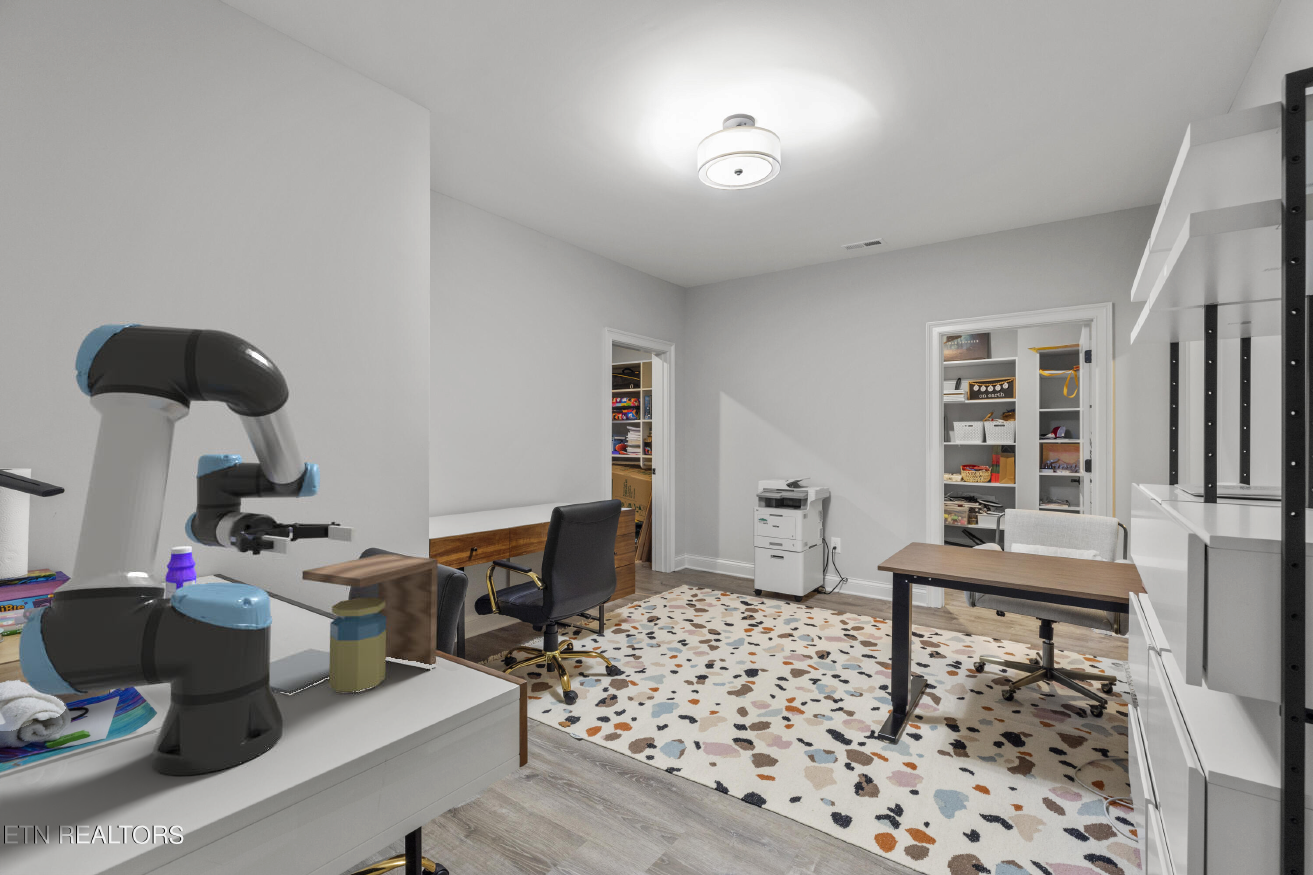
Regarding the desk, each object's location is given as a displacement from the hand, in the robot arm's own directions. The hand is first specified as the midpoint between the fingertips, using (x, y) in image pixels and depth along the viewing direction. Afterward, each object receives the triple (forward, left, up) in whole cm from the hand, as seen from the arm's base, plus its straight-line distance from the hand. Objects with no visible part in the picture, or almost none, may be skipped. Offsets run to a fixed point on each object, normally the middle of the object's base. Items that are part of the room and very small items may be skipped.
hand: (322, 540), depth 112 cm
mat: (+4, +3, -26) cm, 26 cm away
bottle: (+58, +33, -26) cm, 71 cm away
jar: (-8, -6, -26) cm, 28 cm away
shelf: (-6, -9, -26) cm, 28 cm away
